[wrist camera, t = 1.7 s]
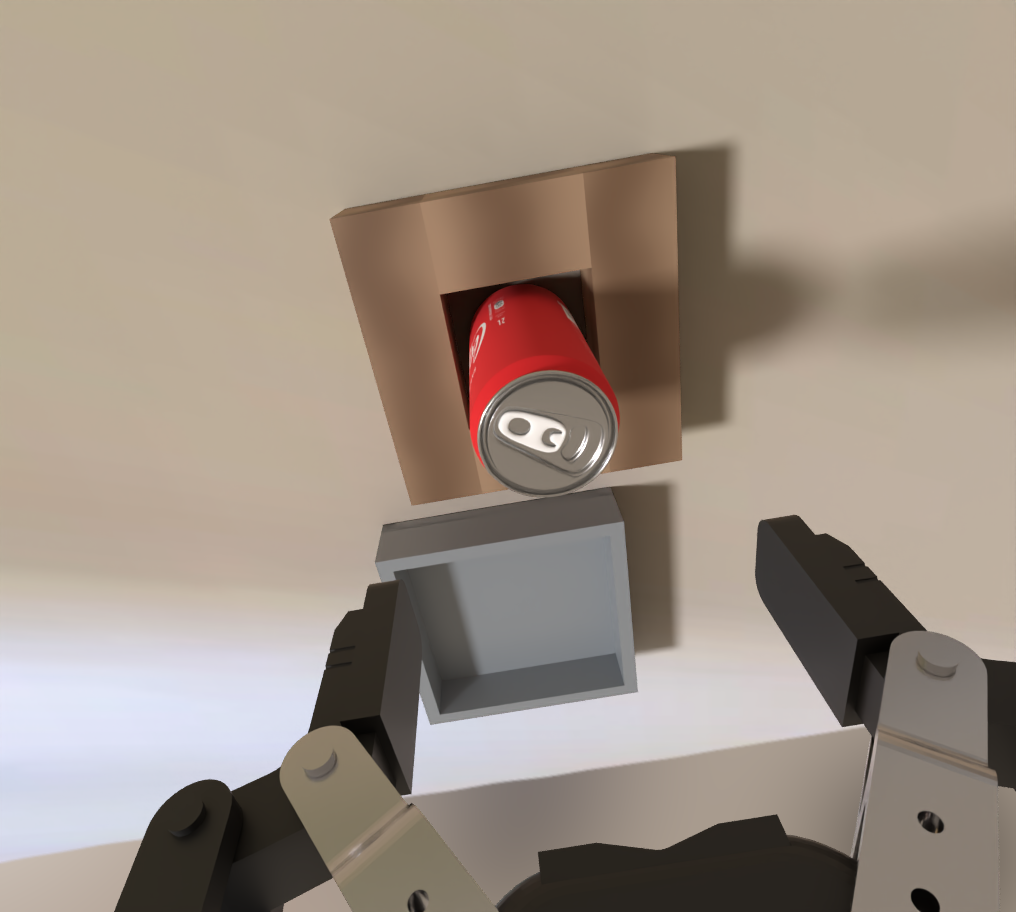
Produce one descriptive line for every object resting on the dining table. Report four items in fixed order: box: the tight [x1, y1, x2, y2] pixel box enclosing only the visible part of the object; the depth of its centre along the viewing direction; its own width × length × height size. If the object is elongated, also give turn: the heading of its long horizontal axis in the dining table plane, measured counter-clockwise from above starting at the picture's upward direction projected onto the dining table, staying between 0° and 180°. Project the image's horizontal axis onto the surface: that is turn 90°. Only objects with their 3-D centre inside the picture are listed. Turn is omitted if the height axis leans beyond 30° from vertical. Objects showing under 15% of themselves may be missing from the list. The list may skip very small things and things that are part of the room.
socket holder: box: [330, 153, 682, 505], centre depth 29 cm, size 14×14×4 cm
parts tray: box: [375, 487, 638, 725], centre depth 37 cm, size 14×14×4 cm
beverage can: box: [469, 284, 620, 497], centre depth 25 cm, size 5×5×12 cm
